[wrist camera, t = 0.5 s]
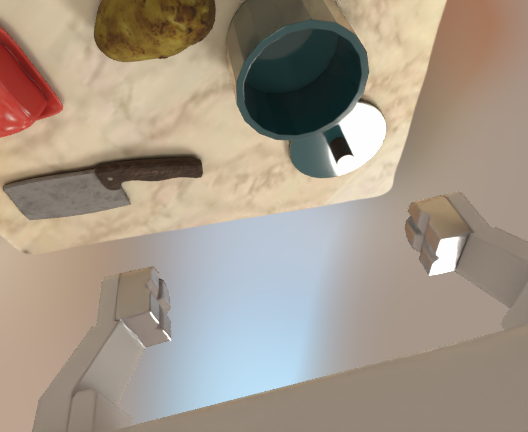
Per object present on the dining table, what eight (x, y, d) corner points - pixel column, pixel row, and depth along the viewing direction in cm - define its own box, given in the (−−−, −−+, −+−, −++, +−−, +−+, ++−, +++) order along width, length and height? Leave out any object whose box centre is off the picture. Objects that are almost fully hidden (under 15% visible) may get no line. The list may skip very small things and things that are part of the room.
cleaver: (196, 143, 56) (197, 153, 55) (210, 187, 64) (211, 196, 62) (-6, 182, 55) (-9, 193, 54) (34, 221, 63) (31, 231, 62)
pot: (211, -3, 41) (221, 41, 35) (345, -35, 41) (375, 4, 35) (238, 106, 52) (248, 152, 47) (342, 82, 52) (364, 124, 47)
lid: (283, 111, 54) (291, 135, 51) (389, 86, 54) (403, 108, 51) (292, 182, 67) (299, 204, 64) (378, 161, 67) (389, 183, 64)
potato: (68, -32, 36) (56, 7, 32) (200, -62, 36) (208, -27, 32) (107, 49, 43) (103, 91, 38) (219, 24, 43) (228, 63, 38)
